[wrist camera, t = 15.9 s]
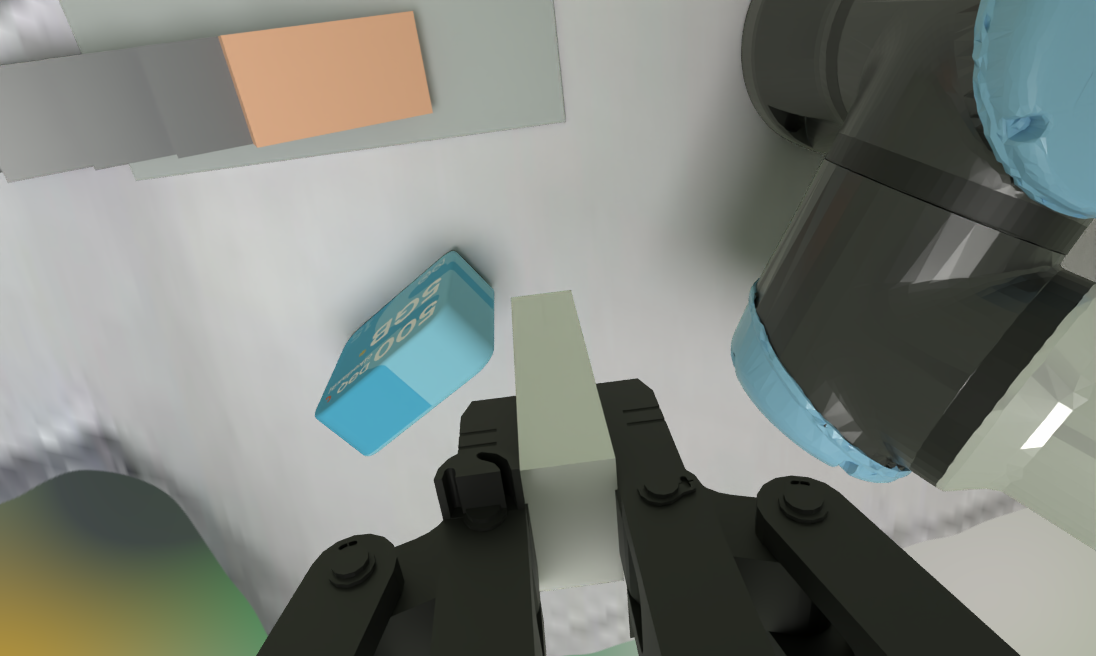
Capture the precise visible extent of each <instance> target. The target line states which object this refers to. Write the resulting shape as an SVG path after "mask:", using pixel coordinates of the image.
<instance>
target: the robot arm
mask: <svg viewBox="0 0 1096 656" xmlns="http://www.w3.org/2000/svg"><path fill="white" fill-rule="evenodd" d="M742 69H743V76H744V81H745V85H746V88H747V91H748V94H749V96H750V99H751V101H752V103H753V105H754V107H755V109H756V110H757V112H758V114H759V115H760V116H761V118H762V119H763V120H764V121H765V122H766V124H767V125H768V126H769V127H770V128H772V129H773V130H774V131H775V132H776V133H778V134H779V135H781V136H782V137H784V138H785V139H787V140H789V141H791V142H793V143H796V144H798V145H800V146H803V147H805V148H807V149H810V150H813V151H817V152H822V153H828V154H827V155H826V157H825V158H826V159H825V158H824V159H823V161H822V163H821V165H820V167H819V169H818V171H817V173H816V175H815V177H814V178H813V180H812V182H811V184H810V186H809V188H808V190H807V192H806V194H805V196H804V197H803V199H802V201H801V203H800V205H799V207H798V209H797V211H796V213H795V215H794V216H793V218H792V220H791V222H790V224H789V226H788V227H787V229H786V231H785V233H784V235H783V237H782V238H781V240H780V242H779V244H778V246H777V248H776V249H775V251H774V253H773V255H772V257H771V259H770V260H769V262H768V264H767V266H766V268H765V270H764V271H763V273H762V275H761V277H759V278H758V280H757V281H756V282H755V283H754V284H753V286H752V287H751V290H750V294H749V302H748V305H747V307H746V309H745V311H744V313H743V315H742V317H741V320H740V322H739V324H738V326H737V328H736V330H735V332H734V335H733V338H732V342H731V357H732V361H733V365H734V367H735V372H736V376H737V378H738V380H739V382H740V384H741V385H742V387H743V389H744V390H745V392H746V393H747V395H748V396H749V398H750V399H751V400H752V402H753V403H754V404H755V405H756V407H757V408H758V409H759V410H760V411H761V413H762V414H763V415H764V416H765V417H766V418H767V419H768V420H769V421H770V422H771V423H772V424H773V425H774V426H776V427H777V428H778V429H779V430H780V431H781V432H782V433H783V434H784V435H785V436H787V437H788V438H789V439H790V440H792V441H793V442H794V443H795V444H797V445H798V446H799V447H801V448H802V449H803V450H805V451H806V452H808V453H809V454H810V455H812V456H814V457H815V458H817V459H819V460H820V461H822V462H824V463H825V464H827V465H829V466H831V467H835V466H838V465H839V466H840V467H841V468H843V470H844V471H845V472H846V473H847V474H849V475H850V476H852V477H855V478H858V479H861V480H864V481H868V482H874V483H889V482H892V481H895V480H897V479H898V478H902V477H905V476H907V475H908V474H910V473H911V472H914V473H915V474H917V475H918V476H920V477H921V478H923V479H924V480H926V481H927V482H929V483H930V484H932V485H933V486H935V487H937V488H938V489H940V490H942V491H957V490H971V489H992V490H997V491H1002V492H1003V493H1005V494H1007V495H1008V496H1010V497H1011V498H1013V499H1015V500H1016V501H1018V502H1019V503H1021V504H1023V505H1024V506H1026V507H1027V508H1029V509H1030V510H1032V511H1034V512H1035V513H1037V514H1039V515H1040V516H1042V517H1043V518H1045V519H1046V520H1048V521H1049V522H1051V523H1053V524H1054V525H1056V526H1057V527H1059V528H1061V529H1062V530H1064V531H1065V532H1067V533H1069V534H1070V535H1072V536H1073V537H1075V538H1076V539H1078V540H1080V541H1081V542H1083V543H1084V544H1086V545H1087V546H1089V547H1091V548H1092V549H1094V550H1096V283H1095V282H1093V281H1091V280H1088V279H1086V278H1084V277H1081V276H1079V275H1076V274H1074V273H1072V272H1069V271H1067V270H1065V269H1063V268H1062V267H1061V265H1060V264H1061V262H1062V261H1063V259H1064V258H1065V256H1066V255H1065V254H1068V252H1069V251H1070V249H1071V248H1072V247H1073V245H1074V244H1075V243H1076V241H1077V240H1078V239H1079V237H1080V236H1081V235H1082V233H1083V232H1084V231H1085V229H1086V228H1087V227H1088V225H1089V224H1090V223H1091V222H1092V220H1093V219H1094V218H1096V0H752V2H751V4H750V7H749V10H748V13H747V17H746V21H745V26H744V31H743V38H742ZM511 306H512V325H513V345H514V365H515V384H516V396H511V397H503V398H495V399H487V400H479V401H472V402H471V404H470V405H469V406H468V408H467V409H466V411H465V412H464V413H463V415H462V416H461V422H460V437H459V445H458V448H459V450H458V454H456V455H455V456H453V457H451V458H449V459H448V460H447V461H446V462H445V463H444V464H443V465H442V466H441V467H440V468H439V469H438V471H437V473H436V476H435V478H434V483H435V488H436V492H437V496H438V500H439V504H440V508H441V512H442V516H443V521H442V522H441V523H440V524H439V525H438V526H437V527H436V528H434V529H433V530H431V531H430V532H429V533H427V534H425V535H423V536H421V537H419V538H417V539H414V540H412V541H409V542H407V543H404V544H402V545H399V546H396V547H394V545H393V544H392V543H391V542H390V541H388V540H387V539H386V538H385V537H382V536H378V535H374V534H364V535H354V536H352V537H349V538H346V539H344V540H341V541H338V542H337V543H335V544H334V545H332V546H331V547H329V548H328V549H327V550H325V551H324V552H322V554H321V555H320V556H319V557H318V558H317V560H316V561H315V562H314V563H313V564H312V566H311V567H310V569H309V571H308V572H307V574H306V575H305V577H304V579H303V580H302V582H301V584H300V585H299V587H298V588H297V590H296V592H295V593H294V595H293V597H292V598H291V600H290V601H289V603H288V605H287V606H286V608H285V610H284V611H283V613H282V614H281V616H280V618H279V619H278V621H277V623H276V624H275V626H274V627H273V629H272V631H271V632H270V634H269V636H268V637H267V639H266V641H265V642H264V644H263V645H262V647H261V649H260V650H259V652H258V654H257V655H256V656H546V645H545V633H544V620H543V614H542V608H541V601H540V592H542V591H550V590H557V589H564V588H572V587H579V586H587V585H594V584H602V583H609V582H616V581H624V575H625V580H626V584H627V595H628V610H629V625H630V638H633V637H635V641H636V645H637V650H638V654H639V656H1020V655H1019V654H1018V653H1017V652H1016V651H1015V650H1014V649H1013V648H1011V647H1010V646H1009V645H1008V644H1007V643H1006V642H1004V640H1003V639H1001V638H1000V637H999V636H998V635H997V634H996V633H994V631H993V630H991V629H990V628H989V627H988V626H987V625H985V623H984V622H982V621H981V620H980V619H979V618H978V617H977V616H976V615H975V614H974V613H973V612H971V611H970V610H969V609H968V608H967V607H966V606H965V605H964V604H963V603H961V602H960V601H959V600H958V599H957V598H956V597H955V596H954V595H953V594H951V593H950V592H949V591H948V590H947V589H946V588H945V587H944V586H943V585H941V584H940V583H939V582H938V581H937V580H936V579H935V578H934V577H933V576H931V575H930V574H929V573H928V572H927V571H926V570H925V569H924V568H923V567H921V566H920V565H919V564H918V563H917V562H916V561H915V560H914V559H913V558H912V557H910V556H909V555H908V554H907V553H906V552H905V551H904V550H903V549H902V548H900V547H899V546H898V545H897V544H896V543H895V542H894V541H893V540H892V539H890V538H889V537H888V536H887V535H886V534H885V533H884V532H883V531H882V530H880V529H879V528H878V527H877V526H876V525H875V524H874V523H873V522H872V521H870V520H869V519H868V518H867V517H866V516H865V515H864V514H863V513H862V512H860V511H859V510H858V509H857V508H856V507H855V506H854V505H853V504H852V503H850V502H849V501H848V500H847V499H846V498H845V497H844V496H843V495H842V494H840V493H839V492H838V491H836V490H835V489H833V488H832V487H830V486H829V485H827V484H826V483H823V482H820V481H817V480H815V479H812V478H809V477H800V476H786V477H779V478H775V479H773V480H771V481H769V482H767V483H766V484H764V485H763V486H762V488H761V489H760V491H759V492H758V494H757V498H755V497H746V496H737V495H729V494H724V493H719V492H716V491H713V490H711V489H708V488H706V487H704V486H703V485H702V484H701V483H700V481H699V480H698V479H697V477H696V476H695V475H694V474H692V473H691V472H689V471H687V470H686V469H685V467H684V465H683V462H682V460H681V458H680V455H679V453H678V450H677V448H676V445H675V443H674V441H673V438H672V436H671V433H670V431H669V429H668V426H667V424H666V421H665V420H664V416H663V414H662V412H661V409H660V408H659V404H658V402H657V399H656V397H655V395H654V392H653V390H652V389H650V388H649V387H648V386H647V385H645V384H644V383H643V382H641V381H640V380H639V379H638V378H637V379H630V380H622V381H614V382H606V383H599V384H596V383H595V379H594V376H593V372H592V368H591V364H590V361H589V357H588V353H587V349H586V346H585V342H584V338H583V334H582V331H581V327H580V323H579V319H578V316H577V312H576V308H575V304H574V301H573V297H572V293H571V290H568V291H560V292H552V293H544V294H536V295H528V296H520V297H513V298H511ZM623 571H624V575H623Z"/></svg>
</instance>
